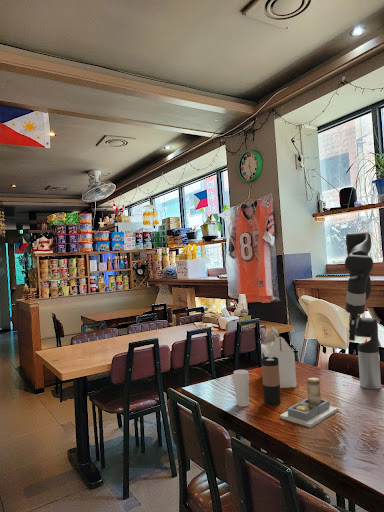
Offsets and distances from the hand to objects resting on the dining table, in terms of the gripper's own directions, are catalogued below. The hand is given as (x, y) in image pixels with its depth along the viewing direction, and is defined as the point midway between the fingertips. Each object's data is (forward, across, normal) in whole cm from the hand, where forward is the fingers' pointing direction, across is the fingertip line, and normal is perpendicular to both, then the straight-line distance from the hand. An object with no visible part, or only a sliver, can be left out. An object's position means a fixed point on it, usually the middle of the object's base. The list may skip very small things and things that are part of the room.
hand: (352, 335), depth 167 cm
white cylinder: (+31, +24, -42) cm, 57 cm away
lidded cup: (+26, +20, -11) cm, 35 cm away
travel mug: (+31, +18, -30) cm, 47 cm away
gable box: (+40, -12, -34) cm, 54 cm away
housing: (+26, +24, -13) cm, 38 cm away
